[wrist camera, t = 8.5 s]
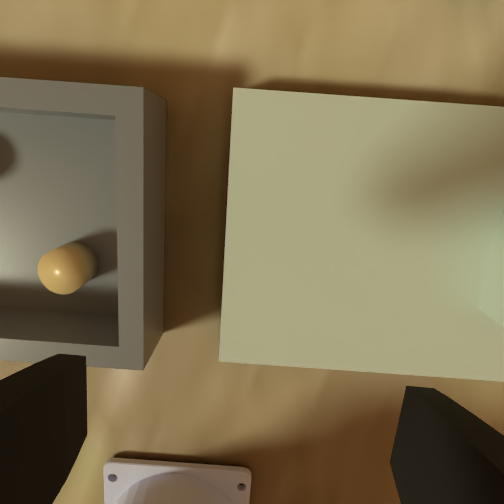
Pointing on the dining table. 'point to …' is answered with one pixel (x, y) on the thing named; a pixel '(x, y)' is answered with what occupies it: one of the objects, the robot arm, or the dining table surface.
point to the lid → (365, 235)
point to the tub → (81, 221)
